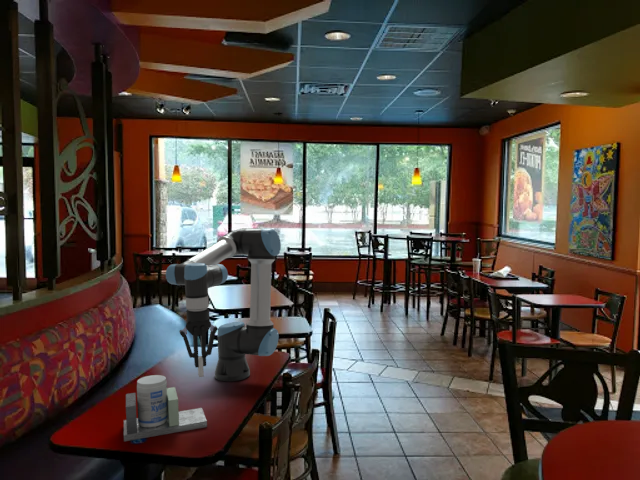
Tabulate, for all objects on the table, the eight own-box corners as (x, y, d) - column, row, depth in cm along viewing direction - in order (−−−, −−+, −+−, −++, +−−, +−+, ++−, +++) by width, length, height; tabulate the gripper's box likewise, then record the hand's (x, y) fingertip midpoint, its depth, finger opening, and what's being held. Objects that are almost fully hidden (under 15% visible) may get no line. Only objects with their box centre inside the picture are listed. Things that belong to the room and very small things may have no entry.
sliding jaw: (175, 411, 173) (174, 387, 173) (179, 424, 162) (178, 399, 162) (166, 412, 172) (165, 388, 172) (169, 426, 161) (168, 400, 161)
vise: (202, 413, 177) (200, 383, 176) (207, 426, 166) (206, 394, 165) (124, 426, 167) (122, 394, 167) (123, 441, 156) (122, 407, 155)
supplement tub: (156, 430, 159) (154, 385, 158) (131, 426, 162) (129, 383, 161) (173, 417, 168) (172, 375, 167) (150, 414, 171) (148, 373, 170)
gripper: (215, 304, 174) (218, 369, 176) (176, 308, 169) (180, 375, 171) (218, 308, 167) (221, 376, 169) (178, 313, 162) (182, 382, 165)
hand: (201, 375), depth 170 cm, fingers closed
